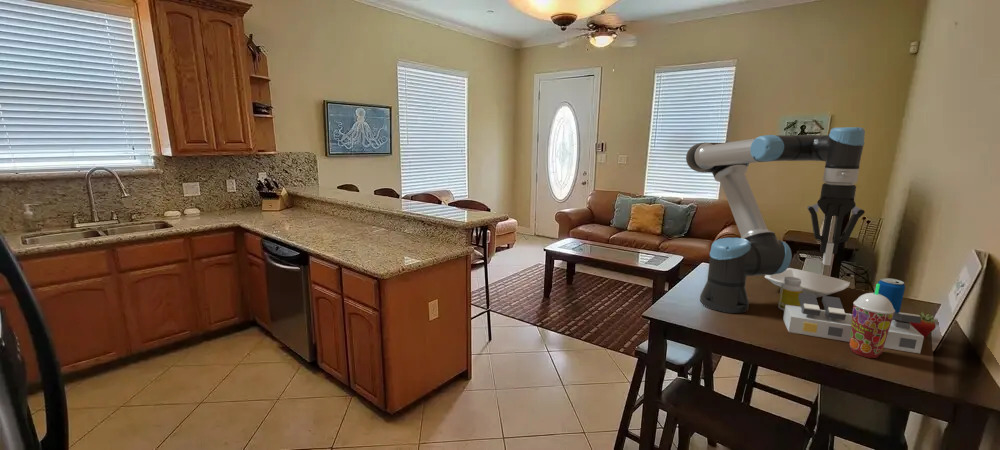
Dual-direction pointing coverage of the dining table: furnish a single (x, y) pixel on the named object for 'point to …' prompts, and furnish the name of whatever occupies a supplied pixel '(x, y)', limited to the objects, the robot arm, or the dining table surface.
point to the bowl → (811, 282)
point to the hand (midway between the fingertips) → (826, 263)
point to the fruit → (924, 325)
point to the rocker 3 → (907, 317)
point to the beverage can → (892, 291)
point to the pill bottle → (790, 292)
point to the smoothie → (870, 324)
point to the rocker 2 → (833, 307)
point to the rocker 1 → (809, 304)
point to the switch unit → (849, 329)
